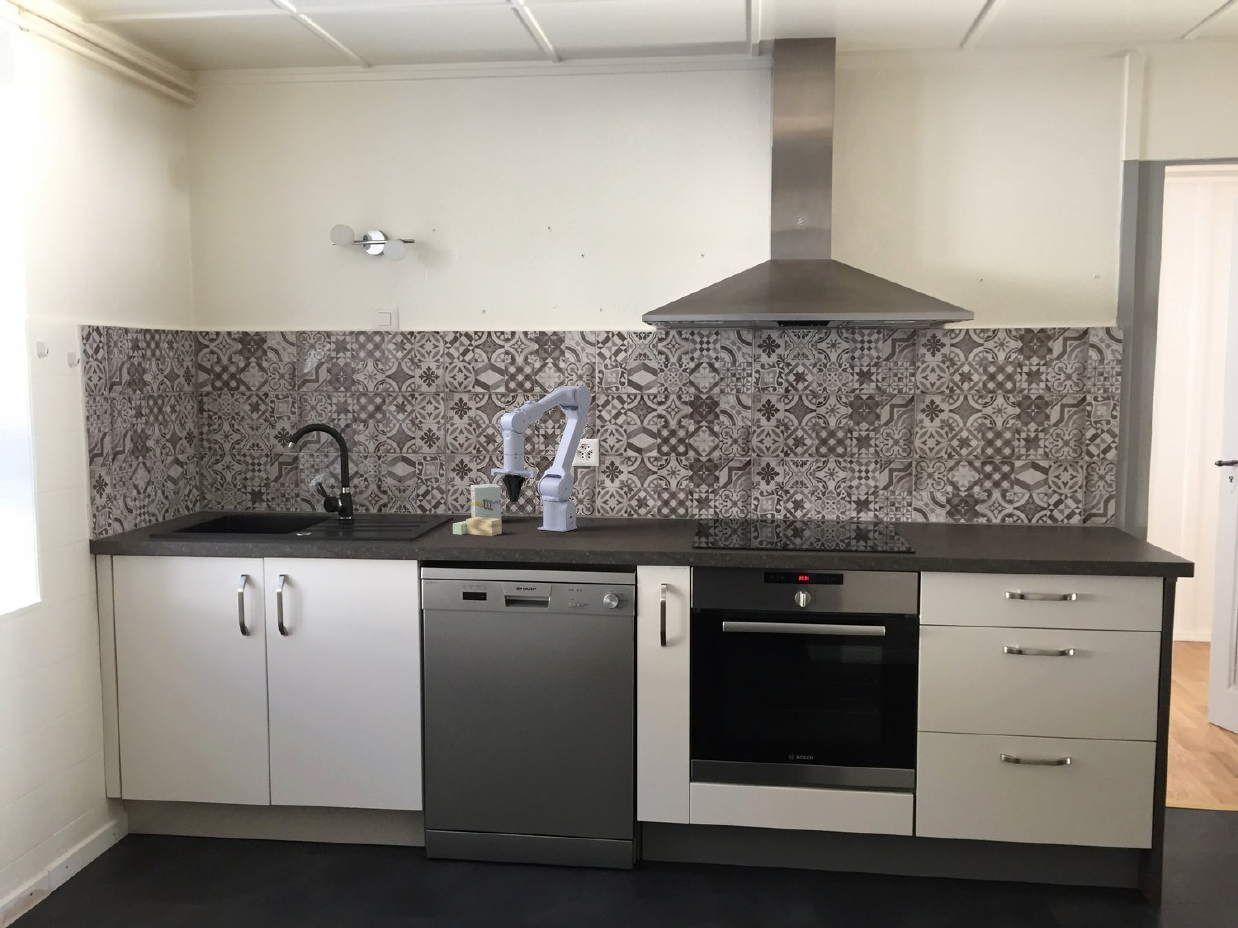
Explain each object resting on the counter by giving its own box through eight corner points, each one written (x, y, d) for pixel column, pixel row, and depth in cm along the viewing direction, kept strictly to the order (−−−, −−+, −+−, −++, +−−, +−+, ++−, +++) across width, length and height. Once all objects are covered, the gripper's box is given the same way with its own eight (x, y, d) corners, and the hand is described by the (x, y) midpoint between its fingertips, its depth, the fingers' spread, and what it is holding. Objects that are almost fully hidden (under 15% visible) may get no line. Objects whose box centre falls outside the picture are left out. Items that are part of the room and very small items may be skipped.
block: (501, 534, 288) (501, 518, 288) (491, 536, 284) (491, 521, 283) (476, 531, 292) (476, 516, 292) (466, 534, 288) (466, 519, 287)
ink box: (470, 520, 314) (469, 484, 313) (496, 519, 316) (496, 483, 315) (474, 524, 305) (474, 486, 304) (501, 523, 308) (501, 486, 307)
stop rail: (489, 528, 298) (489, 518, 298) (461, 534, 286) (461, 524, 285) (481, 527, 299) (481, 517, 299) (452, 533, 287) (452, 523, 287)
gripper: (484, 454, 282) (485, 501, 283) (527, 456, 275) (527, 504, 276) (499, 452, 288) (499, 498, 289) (540, 454, 281) (541, 501, 283)
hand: (514, 501), depth 283 cm, fingers closed
